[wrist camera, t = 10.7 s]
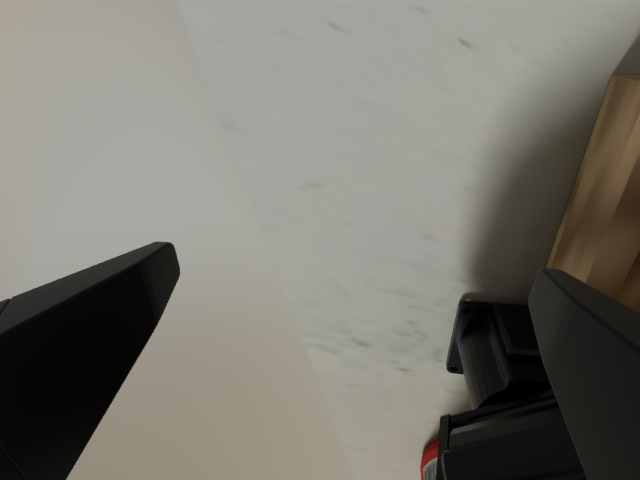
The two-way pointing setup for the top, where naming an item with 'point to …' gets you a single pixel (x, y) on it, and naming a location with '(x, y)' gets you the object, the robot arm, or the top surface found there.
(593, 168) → the tray
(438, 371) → the top surface
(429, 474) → the canned food
